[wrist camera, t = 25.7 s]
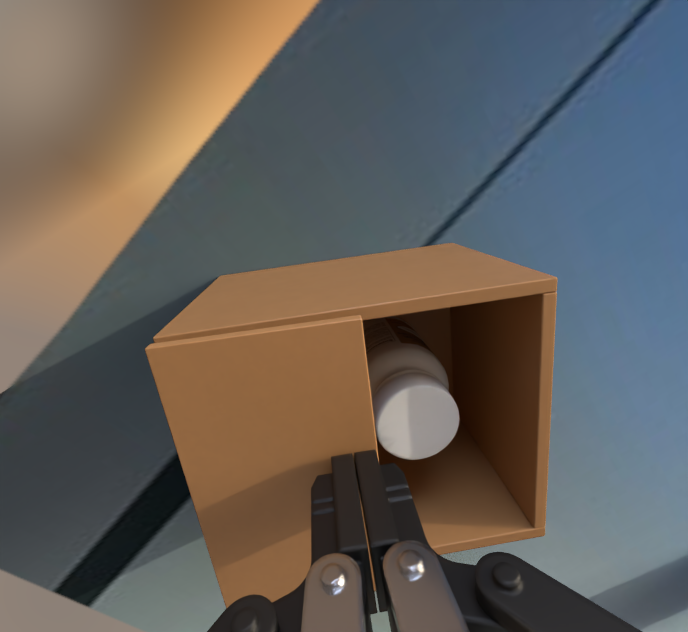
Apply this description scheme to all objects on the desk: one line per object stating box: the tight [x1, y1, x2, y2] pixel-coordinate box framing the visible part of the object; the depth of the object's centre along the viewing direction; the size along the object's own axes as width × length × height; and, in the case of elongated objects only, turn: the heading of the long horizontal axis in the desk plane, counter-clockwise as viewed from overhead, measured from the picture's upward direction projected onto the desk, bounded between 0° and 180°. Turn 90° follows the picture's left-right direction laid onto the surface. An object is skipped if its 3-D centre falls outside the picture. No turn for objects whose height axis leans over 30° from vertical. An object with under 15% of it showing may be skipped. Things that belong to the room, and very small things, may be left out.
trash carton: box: [153, 243, 557, 555], centre depth 18 cm, size 13×11×10 cm
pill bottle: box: [362, 316, 460, 460], centre depth 19 cm, size 4×4×8 cm
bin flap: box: [145, 315, 379, 608], centre depth 13 cm, size 6×11×1 cm, turn 7°
